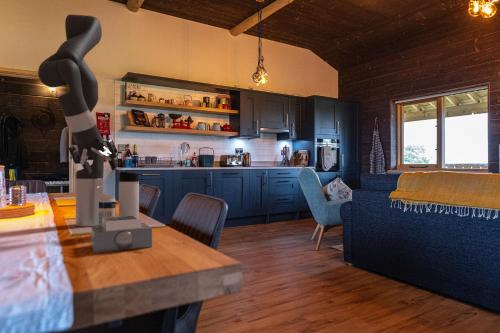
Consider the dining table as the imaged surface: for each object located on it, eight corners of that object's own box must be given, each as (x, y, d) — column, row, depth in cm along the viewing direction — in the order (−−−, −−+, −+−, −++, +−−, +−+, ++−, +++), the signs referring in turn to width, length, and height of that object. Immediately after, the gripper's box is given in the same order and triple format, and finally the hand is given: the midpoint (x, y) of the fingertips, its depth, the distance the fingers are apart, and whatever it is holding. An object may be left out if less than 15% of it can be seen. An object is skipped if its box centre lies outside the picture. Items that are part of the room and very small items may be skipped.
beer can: (118, 236, 103) (118, 197, 103) (110, 239, 99) (110, 198, 99) (103, 235, 104) (104, 197, 104) (95, 239, 99) (95, 198, 99)
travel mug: (113, 233, 108) (114, 171, 108) (126, 229, 114) (127, 171, 114) (130, 234, 106) (130, 171, 106) (142, 230, 112) (143, 171, 112)
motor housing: (91, 245, 91) (91, 217, 91) (143, 239, 98) (144, 214, 98) (94, 254, 81) (94, 223, 81) (152, 247, 88) (152, 219, 88)
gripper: (109, 118, 106) (126, 162, 114) (66, 125, 107) (86, 168, 115) (99, 127, 100) (118, 173, 107) (54, 134, 101) (76, 179, 108)
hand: (102, 171), depth 111 cm, fingers open, 8 cm apart
